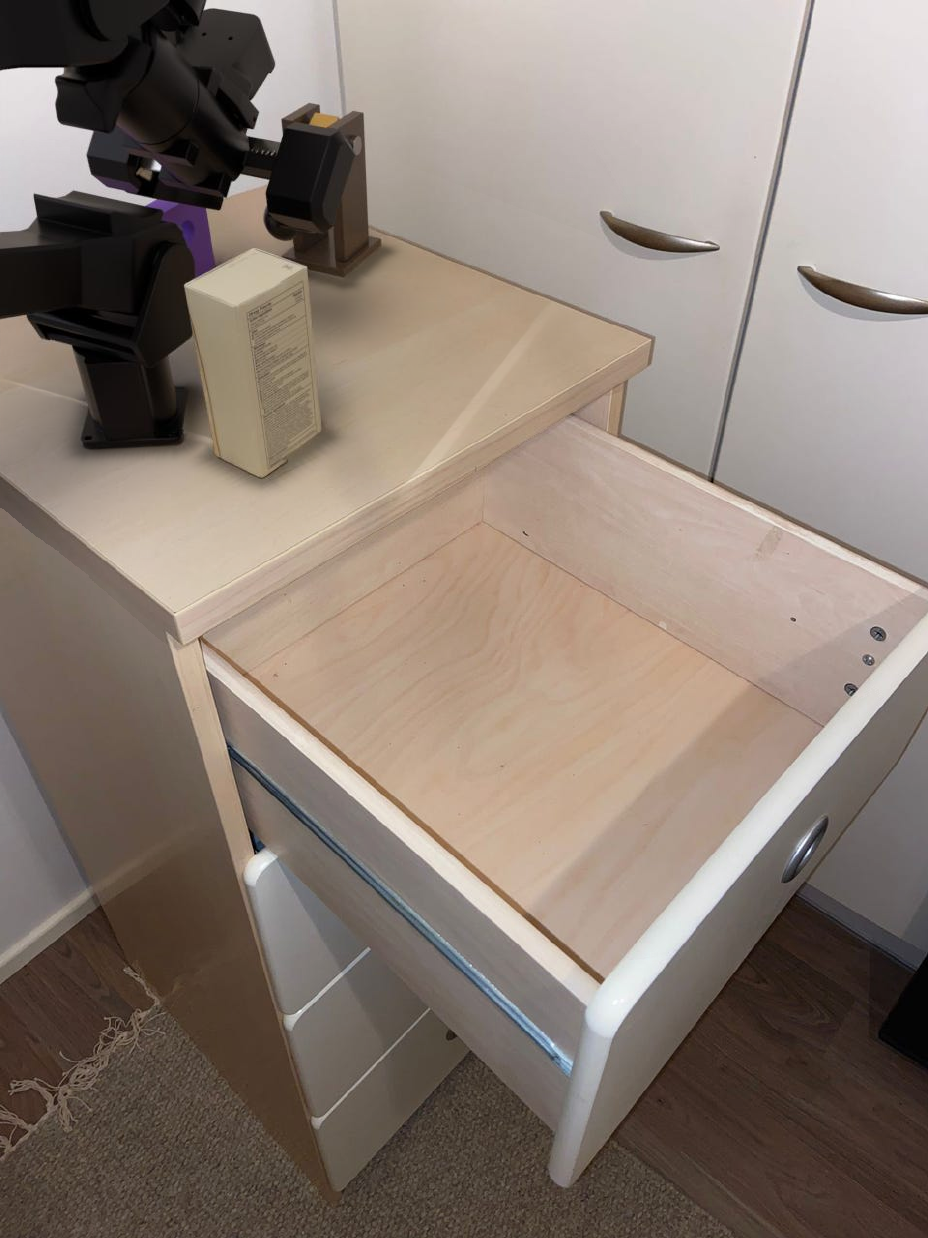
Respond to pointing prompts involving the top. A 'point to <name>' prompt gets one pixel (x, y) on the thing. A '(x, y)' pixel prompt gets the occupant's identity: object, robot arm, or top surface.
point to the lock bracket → (350, 229)
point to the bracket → (190, 231)
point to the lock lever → (269, 221)
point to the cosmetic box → (256, 358)
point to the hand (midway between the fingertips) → (271, 214)
